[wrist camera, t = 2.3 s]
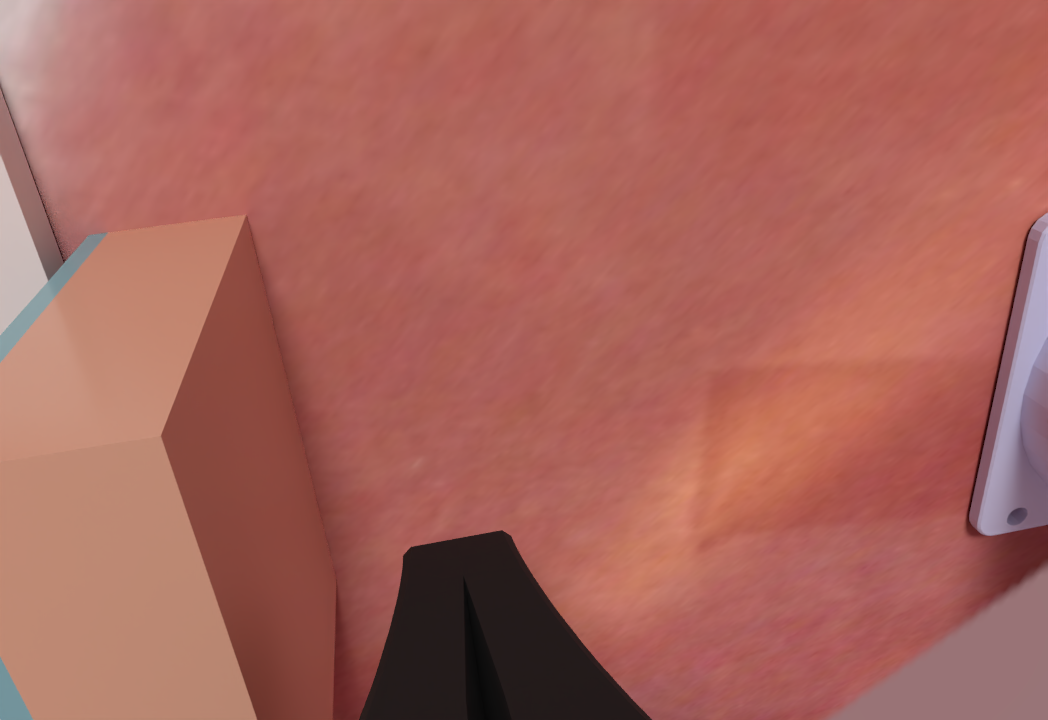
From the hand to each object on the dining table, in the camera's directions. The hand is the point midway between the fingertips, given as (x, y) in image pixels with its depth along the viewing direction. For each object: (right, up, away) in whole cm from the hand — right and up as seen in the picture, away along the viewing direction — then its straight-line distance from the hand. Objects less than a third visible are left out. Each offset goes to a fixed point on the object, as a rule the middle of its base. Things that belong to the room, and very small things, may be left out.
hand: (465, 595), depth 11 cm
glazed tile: (-5, +2, +4) cm, 7 cm away
